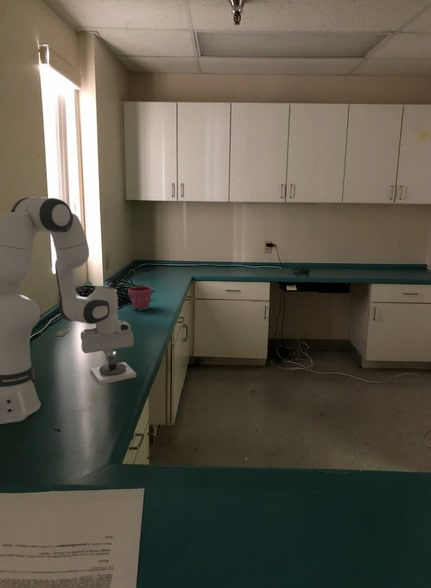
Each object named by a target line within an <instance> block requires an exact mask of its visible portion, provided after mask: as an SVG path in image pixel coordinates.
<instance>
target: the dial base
mask: <svg viewBox="0 0 431 588" xmlns="http://www.w3.org/2000/svg"><path fill="white" fill-rule="evenodd" d="M119 363H120V364H124V365H125V366H126V370H125V372H123V373H121V374H117V375H103V374H101V373H100V371H99V369H100V367H102V366H103V365H101V366H96V367H91V368H90V373H91V374H92V375H93V377H94V379H95V380H96V381H97V383H98V384H99V385H104V384H110V383H114V382H118V381H123V380H128V379H134V378H137V373H136V372H135V370H133V368H132V367H131V366H129V364H127V362H126V361H123V362H119Z"/></svg>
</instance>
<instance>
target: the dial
mask: <svg viewBox="0 0 431 588" xmlns="http://www.w3.org/2000/svg"><path fill="white" fill-rule="evenodd" d="M107 362H108V363H107V364H104V365H101V366H102V367H100V366H99V367H100V369H99V371H100V373H101V374H103V375H117V374H121V373H123V372H125V370H126V366H125V365H124V364H120V363H121V362H117V351H114V352H113V353H112V355H111V357H109V358H108V361H107Z"/></svg>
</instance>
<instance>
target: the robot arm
mask: <svg viewBox="0 0 431 588" xmlns="http://www.w3.org/2000/svg"><path fill="white" fill-rule="evenodd" d="M39 232H41V233H49V234H50V235H51V237H52V242H53V247H54V249H55V256H56V260H55V263H54V267H55V269H54V270H55V276H56V282H57V289H58V296H59V303H58V304H59V305H58V308H59V309H58V311H59V314H60V315H61V316H60V317H62V319H64V320H65V321H69V322H79V323H82V324H88V325H95V327H92V328H85V329H83V330H82V331H81V332H80V340H81V351H82V352H83V353H84V354H90V353H96V352H98V353H99V352H103V354H104V355H105V359H106V361H107V362H108V358H109V357H111V355H112V353H113V352H115V351H114V350H115V349H116V350H117V349H123V348H130V347H133V346H134V342H135V339H134V334H133V331H132V330H131V328H132V326H131V324H130V323H128V322H127V321H124V320H119V315H118V309H119V304H118V303H119V301H118V295H117V294H118V293H117V291H116V288H115V287H113V286H107V285H97V286H95V288H94V291H93V292H92V293H90V294H89V295H88V296H81V295H80V294H79V293H78V292H77V291H76V283H75V276H74V273H75V270H77V269H78V268H81V267H82V266H84V265H85V263H86V262H88V260H89V257H90V249H89V245H88V241H87V236H86V234H85V230H84V228H83V226H82V223H81V221H80V218H79V217H78V216H77V214H75V213H74V212H72V210H71V208H70V206H69V205H68V203H66V201H64V200H62V199H59V198H56V197H50V198H49V197H44V196H35V197H24V198H21V199H19V200H18V201H16V202H15V203H14V205H13V206H12V208H11V211H10V212H6V213H4V214H3V215H2V216H1V217H0V425H4V424H9V423H17V422H22V421H24V420H25V419H27V417H29V416H30V415H32V414H33V413H36V412H37V411H38V410H40V408H41V405H42V403H41V402H40V399H39V397H38V394H37V390H36V387H35V372H34V371H35V370H34V367H33V366H34V365H32V362H31V360H32V359H31V350H30V342H31V341H30V340H31V335H32V331H33V328H34V327H35V326H36V325H37V324H38V323H39V320H40V317H41V309H40V306H39V304H38V303H37V302H36V301H35V300H33V299H32V298H30V297H28V296H26V295H23V294H19V291H20V288H21V286H22V284H23V283H24V281H25V280H26V279H28V278H29V276H30V274H31V265H32V259H33V258H32V257H33V252H34V251H33V249H34V240H35V239H34V238H35V237H36V234H37V233H39Z"/></svg>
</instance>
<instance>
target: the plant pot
mask: <svg viewBox="0 0 431 588" xmlns="http://www.w3.org/2000/svg"><path fill="white" fill-rule="evenodd" d="M127 291H128V296H129V297H130V302H131V304H132V308H133V307H134V308H139V309H141V308H142V309H143V308H147V307H149V308H150V302H151V296H152V295H153V288H152V286H145V285H143V286H140V285H139V286H132V287H130V288H128V290H127ZM134 308H133V309H134Z"/></svg>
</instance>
